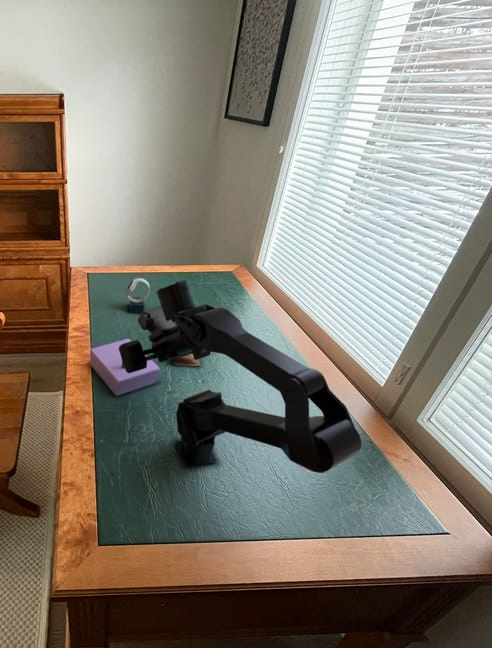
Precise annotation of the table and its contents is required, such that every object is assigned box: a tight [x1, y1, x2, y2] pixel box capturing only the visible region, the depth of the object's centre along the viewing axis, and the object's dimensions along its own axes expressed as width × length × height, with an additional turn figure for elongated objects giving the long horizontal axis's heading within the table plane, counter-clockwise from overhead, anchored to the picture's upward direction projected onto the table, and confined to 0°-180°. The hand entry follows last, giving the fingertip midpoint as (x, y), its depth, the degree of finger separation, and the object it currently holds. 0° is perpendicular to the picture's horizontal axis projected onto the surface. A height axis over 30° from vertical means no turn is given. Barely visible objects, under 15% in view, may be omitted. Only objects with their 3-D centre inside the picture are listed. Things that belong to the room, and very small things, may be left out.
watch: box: [125, 277, 151, 314], centre depth 128 cm, size 6×8×11 cm
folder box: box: [89, 351, 159, 397], centre depth 101 cm, size 15×12×4 cm
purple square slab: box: [89, 338, 161, 384], centre depth 98 cm, size 15×12×5 cm
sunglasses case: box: [170, 322, 201, 367], centre depth 112 cm, size 18×7×7 cm, turn 174°
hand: (143, 355), depth 90 cm, fingers open, 9 cm apart
